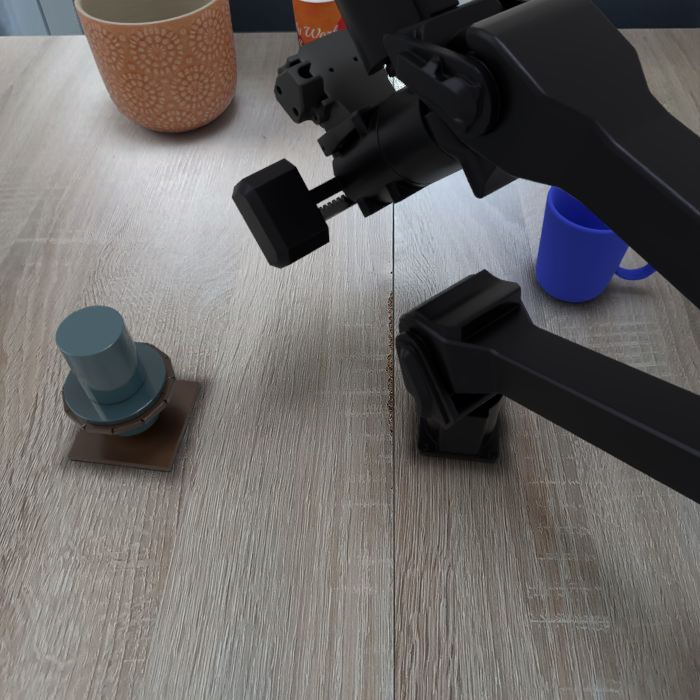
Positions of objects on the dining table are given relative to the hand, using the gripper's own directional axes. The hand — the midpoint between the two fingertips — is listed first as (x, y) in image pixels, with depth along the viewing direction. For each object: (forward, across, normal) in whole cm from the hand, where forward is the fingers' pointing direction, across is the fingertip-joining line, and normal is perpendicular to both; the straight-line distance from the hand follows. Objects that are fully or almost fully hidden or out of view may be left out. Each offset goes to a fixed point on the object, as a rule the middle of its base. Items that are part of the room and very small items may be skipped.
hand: (317, 198), depth 54 cm
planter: (+37, -7, -19) cm, 42 cm away
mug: (-1, -21, +20) cm, 29 cm away
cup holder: (+9, +20, +9) cm, 24 cm away
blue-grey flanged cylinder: (+8, +21, +8) cm, 24 cm away
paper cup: (+31, -25, -13) cm, 42 cm away
